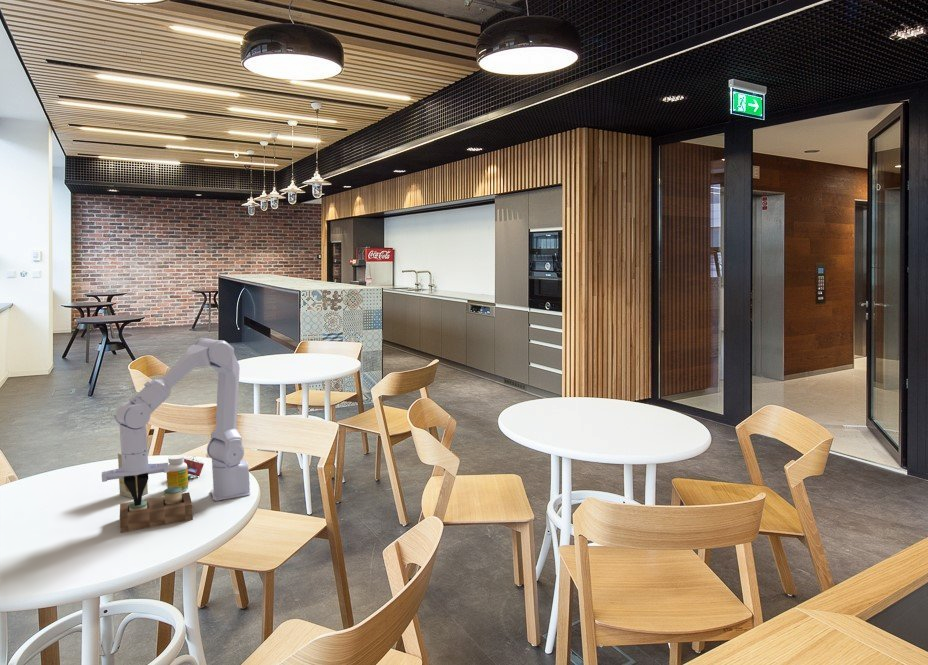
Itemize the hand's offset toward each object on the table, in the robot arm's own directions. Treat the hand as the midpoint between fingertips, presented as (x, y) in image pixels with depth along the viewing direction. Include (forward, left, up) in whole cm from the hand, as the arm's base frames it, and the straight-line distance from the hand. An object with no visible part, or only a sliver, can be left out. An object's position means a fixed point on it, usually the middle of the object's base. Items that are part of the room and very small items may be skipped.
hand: (137, 503), depth 153 cm
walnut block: (-4, 0, -5) cm, 6 cm away
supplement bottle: (-10, -19, -5) cm, 22 cm away
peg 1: (0, 0, -4) cm, 4 cm away
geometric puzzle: (-14, -28, -5) cm, 32 cm away
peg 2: (-8, 0, -2) cm, 8 cm away
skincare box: (+1, -21, -5) cm, 22 cm away
